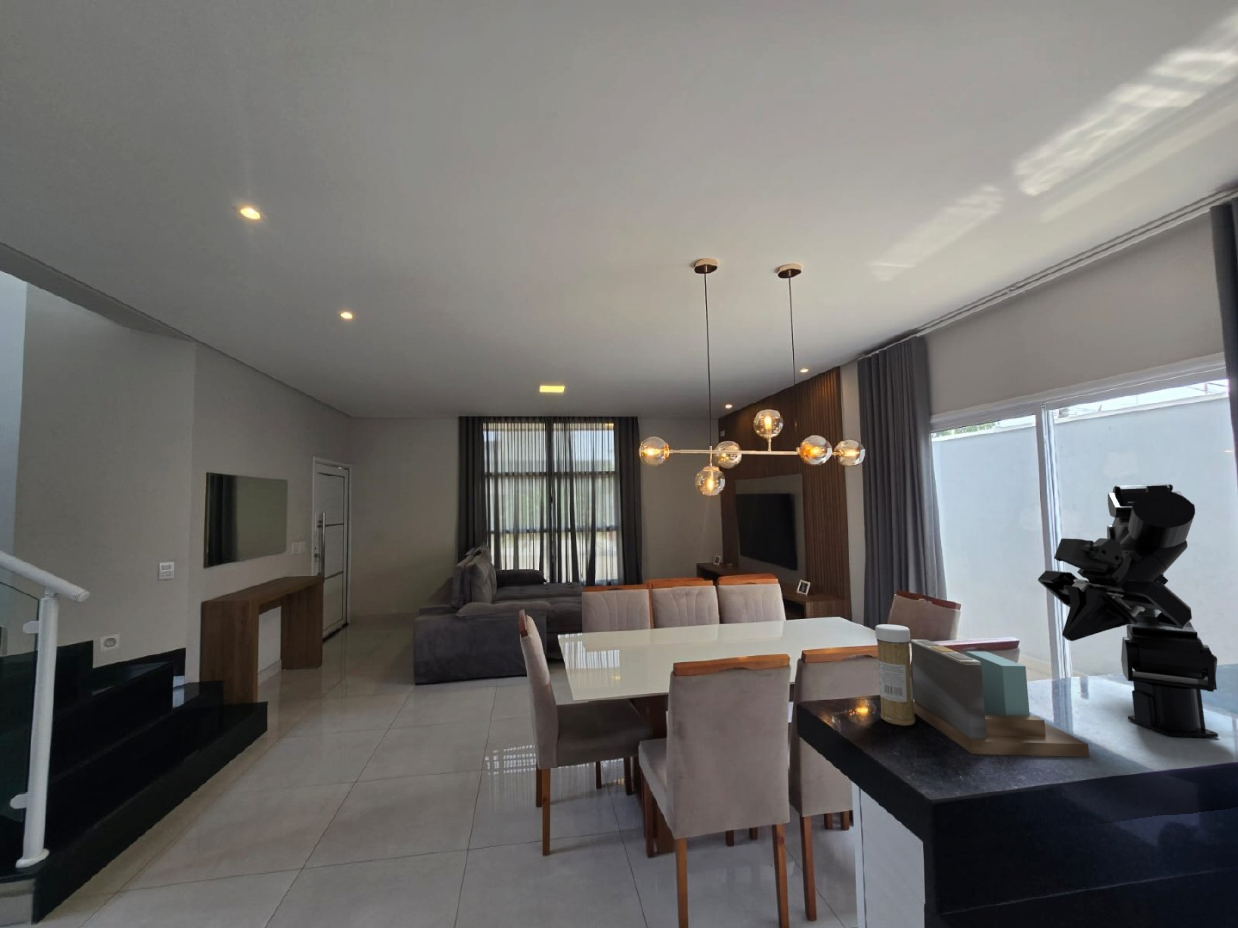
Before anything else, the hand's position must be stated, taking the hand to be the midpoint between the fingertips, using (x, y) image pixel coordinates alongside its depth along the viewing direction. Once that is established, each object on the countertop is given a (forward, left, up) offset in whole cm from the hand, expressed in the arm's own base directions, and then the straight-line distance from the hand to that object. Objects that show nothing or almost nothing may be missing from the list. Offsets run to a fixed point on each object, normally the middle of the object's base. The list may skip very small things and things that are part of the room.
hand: (1066, 638), depth 74 cm
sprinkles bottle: (+23, -3, -13) cm, 26 cm away
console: (+12, 0, -13) cm, 17 cm away
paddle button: (+10, 0, -11) cm, 15 cm away
